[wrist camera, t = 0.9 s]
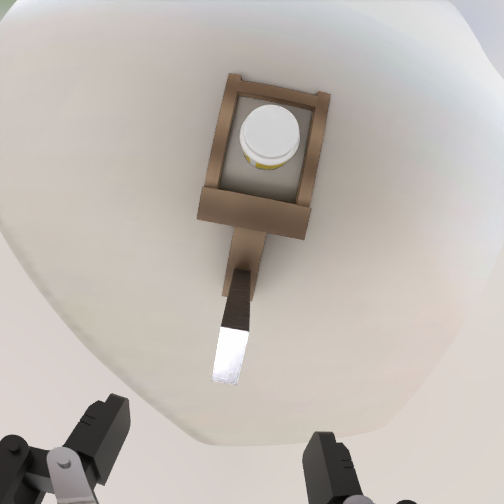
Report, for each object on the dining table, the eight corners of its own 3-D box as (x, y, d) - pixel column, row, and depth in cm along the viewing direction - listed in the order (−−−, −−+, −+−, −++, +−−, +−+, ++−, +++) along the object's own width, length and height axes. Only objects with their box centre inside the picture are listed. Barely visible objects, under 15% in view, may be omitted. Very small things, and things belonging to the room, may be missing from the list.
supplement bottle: (300, 143, 27) (318, 126, 19) (271, 180, 28) (278, 176, 20) (261, 115, 26) (264, 87, 18) (232, 151, 27) (224, 136, 19)
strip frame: (230, 78, 25) (212, 1, 12) (326, 98, 26) (380, 37, 12) (190, 291, 30) (147, 365, 16) (282, 308, 30) (301, 393, 17)
